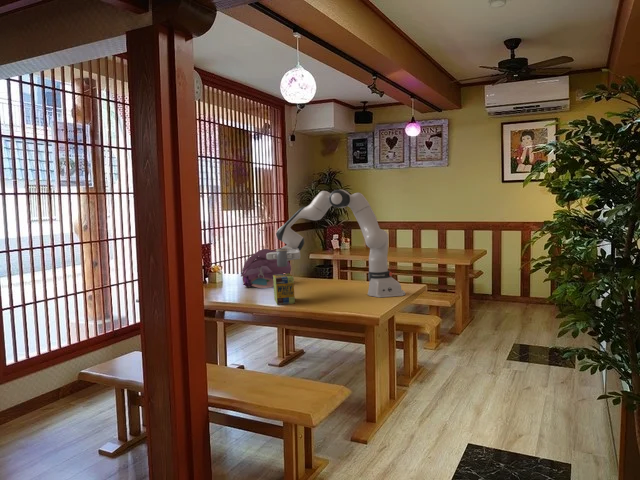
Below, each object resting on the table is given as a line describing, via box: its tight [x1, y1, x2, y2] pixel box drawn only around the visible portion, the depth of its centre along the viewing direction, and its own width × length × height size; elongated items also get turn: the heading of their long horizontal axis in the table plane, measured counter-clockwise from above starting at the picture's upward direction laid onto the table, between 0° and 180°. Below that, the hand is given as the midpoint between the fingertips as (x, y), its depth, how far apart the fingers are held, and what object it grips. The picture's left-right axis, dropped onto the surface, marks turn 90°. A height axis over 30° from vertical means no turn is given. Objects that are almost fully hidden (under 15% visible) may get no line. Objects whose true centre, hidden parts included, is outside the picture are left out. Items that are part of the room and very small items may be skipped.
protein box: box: [273, 273, 296, 306], centre depth 291 cm, size 10×15×16 cm
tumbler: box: [275, 248, 288, 267], centre depth 290 cm, size 6×6×10 cm
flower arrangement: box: [240, 248, 292, 289], centre depth 348 cm, size 35×24×28 cm
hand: (281, 257), depth 289 cm, fingers closed on tumbler, 6 cm apart
